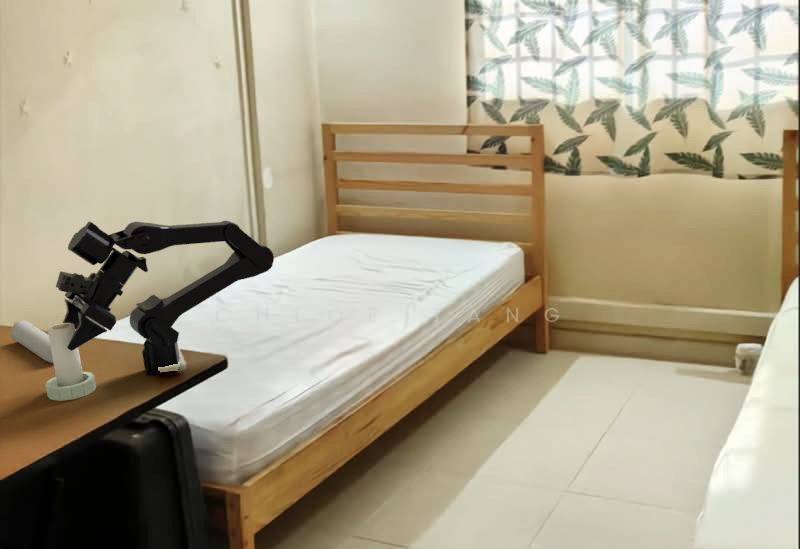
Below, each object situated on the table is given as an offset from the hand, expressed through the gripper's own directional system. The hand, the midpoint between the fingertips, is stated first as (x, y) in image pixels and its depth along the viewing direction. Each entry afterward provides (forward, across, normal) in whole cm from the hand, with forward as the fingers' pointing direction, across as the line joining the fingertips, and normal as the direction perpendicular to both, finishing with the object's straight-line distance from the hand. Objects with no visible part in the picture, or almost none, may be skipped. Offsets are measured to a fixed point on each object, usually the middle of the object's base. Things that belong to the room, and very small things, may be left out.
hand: (64, 343), depth 192 cm
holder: (+7, 0, +7) cm, 10 cm away
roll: (+7, 0, +7) cm, 10 cm away
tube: (+8, -32, +7) cm, 34 cm away
